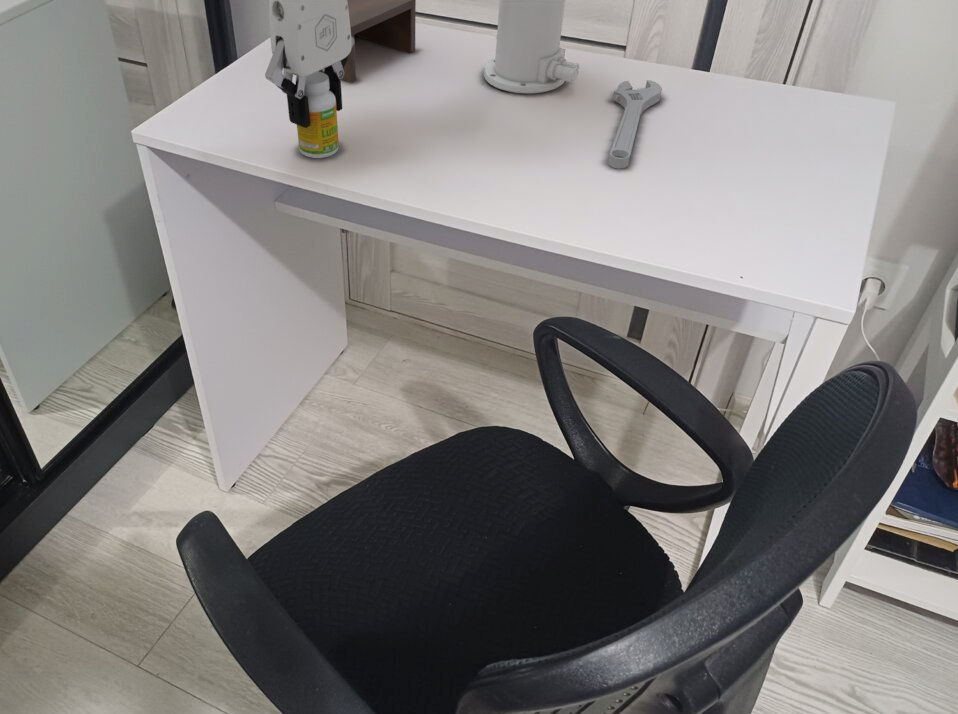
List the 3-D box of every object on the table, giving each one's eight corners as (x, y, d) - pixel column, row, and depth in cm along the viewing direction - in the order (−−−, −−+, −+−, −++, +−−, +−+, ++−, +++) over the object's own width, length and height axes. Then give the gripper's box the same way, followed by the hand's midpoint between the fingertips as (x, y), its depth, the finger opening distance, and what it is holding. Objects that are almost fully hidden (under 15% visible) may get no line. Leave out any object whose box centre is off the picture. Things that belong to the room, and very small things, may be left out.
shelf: (415, 50, 135) (415, -2, 129) (351, 82, 126) (348, 28, 120) (351, 31, 141) (349, -20, 135) (286, 60, 132) (281, 7, 127)
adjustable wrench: (627, 171, 106) (629, 158, 105) (578, 162, 108) (580, 150, 107) (662, 93, 122) (665, 81, 121) (619, 87, 124) (622, 75, 123)
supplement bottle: (327, 162, 109) (321, 89, 102) (292, 154, 110) (284, 82, 103) (346, 145, 112) (341, 73, 105) (311, 137, 114) (305, 66, 107)
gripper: (273, -10, 88) (291, 148, 101) (376, -49, 98) (380, 101, 111) (226, -24, 92) (249, 131, 105) (329, -60, 101) (338, 87, 114)
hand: (316, 114), depth 108 cm, fingers closed on supplement bottle, 5 cm apart
